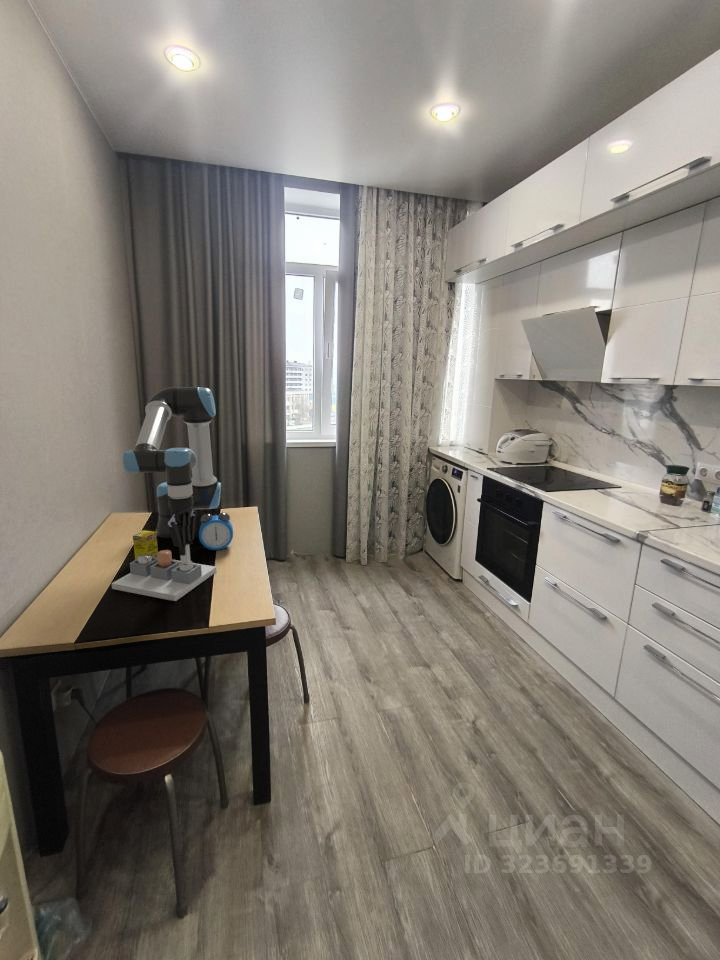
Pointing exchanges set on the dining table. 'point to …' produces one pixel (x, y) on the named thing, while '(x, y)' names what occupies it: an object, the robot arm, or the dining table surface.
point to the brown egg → (164, 558)
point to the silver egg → (185, 566)
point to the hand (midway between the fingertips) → (185, 562)
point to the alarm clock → (216, 531)
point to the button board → (162, 579)
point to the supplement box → (145, 543)
